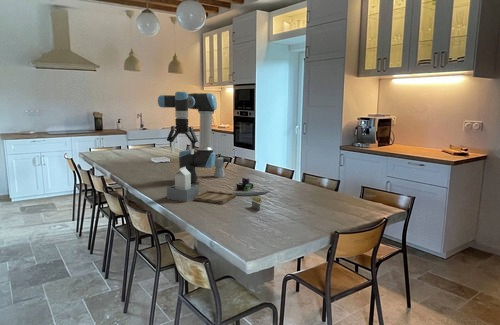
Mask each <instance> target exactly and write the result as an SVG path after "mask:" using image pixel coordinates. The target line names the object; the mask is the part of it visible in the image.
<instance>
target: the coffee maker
mask: <svg viewBox="0 0 500 325" xmlns="http://www.w3.org/2000/svg"><path fill="white" fill-rule="evenodd" d="M225 163H226V164H225ZM229 163H230V160H229V159H228V158H226V157H221V154H220V153H218V154H217V156H216V159H215V163H214V168H215V169H214V173H213V174H214V175H213V176H214V178H225V177H226V175H225V174H226V173H225V170H224V169H227V168H228V165H229Z"/></svg>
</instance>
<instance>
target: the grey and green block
mask: <svg viewBox="0 0 500 325" xmlns="http://www.w3.org/2000/svg"><path fill="white" fill-rule="evenodd" d="M249 200H250V201H251V207H252V208H253V207H254V209H256V210H257V211H261V204H263V203H264V201H263V200H262V198H260V197H258V196H256V195H253V196H252V198H249Z"/></svg>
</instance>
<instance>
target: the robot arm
mask: <svg viewBox="0 0 500 325" xmlns="http://www.w3.org/2000/svg"><path fill="white" fill-rule="evenodd" d="M217 103H218V102H217V97H216V95H215V94H213V93H210V92H209V93H208V92H207V93H205V92H204V93H203V92H200V93H199V92H198V93H196V92H195V93H188V92H187V91H176V92H175V93H174V95H170V94H169V95H168V94H167V95H166V94H164V95H163V94H160V95H159V96H158V98H157V105H158V107H160V108H166V109H167V108H174V109H175V110H174V111H175V115H174V117H175V119H174V120H175V125H171V127H170V131H169V132H168V135H167V138H166V141H167V142H169V147H170V154H174V153H175V151H176V150H175V139H176V138H177V136H178V135H185V136H186V138H188V141H189V142H190V147H189V148H190V149H184V150H180V152H179V154H178V161H179V164H178V166H179V168H178V170H179V169H180V168H183V167H186V169H187V170H188V171H189V172H190V173H191V183H196V182H198V180H199V179H198V176H197V175H198V174H197V172H196V168H201V169H202V168H203V169H205V168H206V169H211V168H213V167H215V159H216V158H217V156H216V155H217V154H216V152H214V149H213V147H212V129H213V128H212V127H213V126H212V125H213V124H212V122H213V120H212V119H213V114H214V113H215V110H216V111H217V105H218V104H217ZM189 109H191V110H197V113H198V114H199V140H198V137H197V135H196V133H195V131H194V126H189ZM175 130H176V131H175ZM198 142H199V147H198V148H197V150H196V143H198Z"/></svg>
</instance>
